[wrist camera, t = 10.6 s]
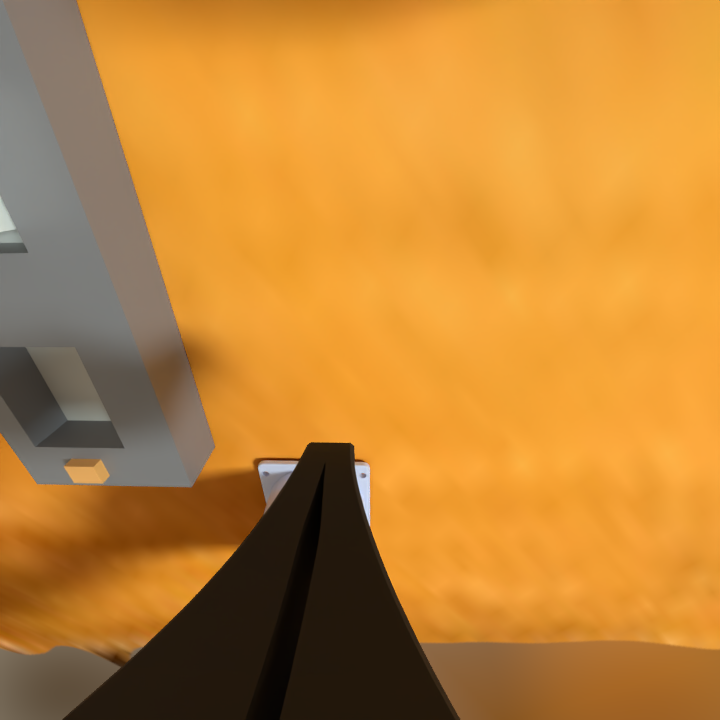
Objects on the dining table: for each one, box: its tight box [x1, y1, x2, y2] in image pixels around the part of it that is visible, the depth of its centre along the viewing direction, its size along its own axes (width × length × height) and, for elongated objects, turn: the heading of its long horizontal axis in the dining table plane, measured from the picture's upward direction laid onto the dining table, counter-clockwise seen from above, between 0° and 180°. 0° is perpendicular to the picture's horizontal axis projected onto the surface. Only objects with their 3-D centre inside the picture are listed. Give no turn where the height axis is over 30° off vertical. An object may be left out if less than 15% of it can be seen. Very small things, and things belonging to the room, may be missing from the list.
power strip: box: [0, 0, 215, 487], centre depth 16 cm, size 24×10×4 cm, turn 1°
